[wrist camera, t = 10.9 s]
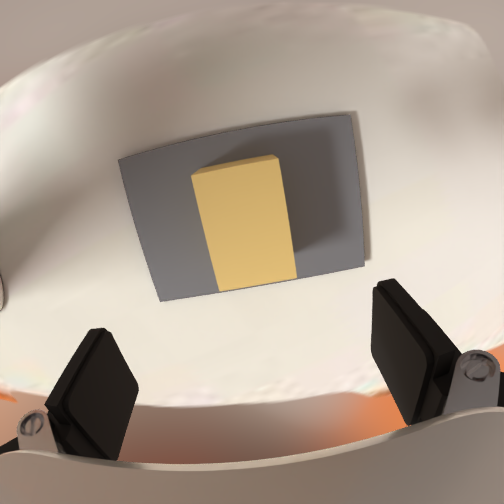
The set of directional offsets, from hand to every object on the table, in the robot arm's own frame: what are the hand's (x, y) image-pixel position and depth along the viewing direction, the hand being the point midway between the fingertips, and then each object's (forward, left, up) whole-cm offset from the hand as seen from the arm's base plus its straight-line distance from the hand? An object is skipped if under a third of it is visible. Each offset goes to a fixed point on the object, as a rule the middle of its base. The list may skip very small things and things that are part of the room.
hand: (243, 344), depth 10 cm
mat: (0, 0, -18) cm, 18 cm away
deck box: (0, 0, -17) cm, 17 cm away
